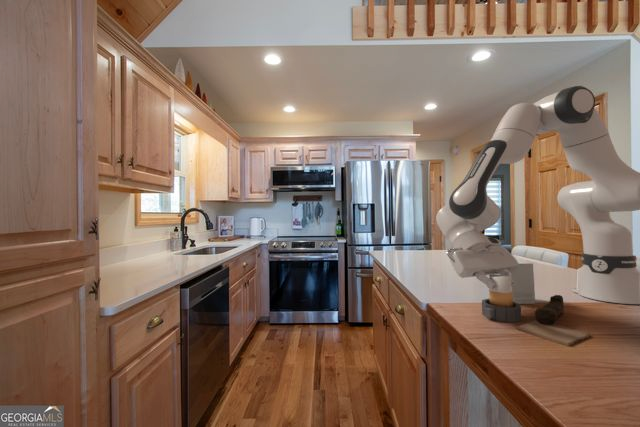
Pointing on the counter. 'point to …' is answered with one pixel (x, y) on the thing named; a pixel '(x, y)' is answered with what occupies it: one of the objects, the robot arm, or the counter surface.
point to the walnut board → (553, 332)
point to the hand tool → (550, 310)
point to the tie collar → (501, 312)
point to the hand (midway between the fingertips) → (502, 286)
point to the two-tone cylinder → (501, 291)
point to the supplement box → (523, 283)
